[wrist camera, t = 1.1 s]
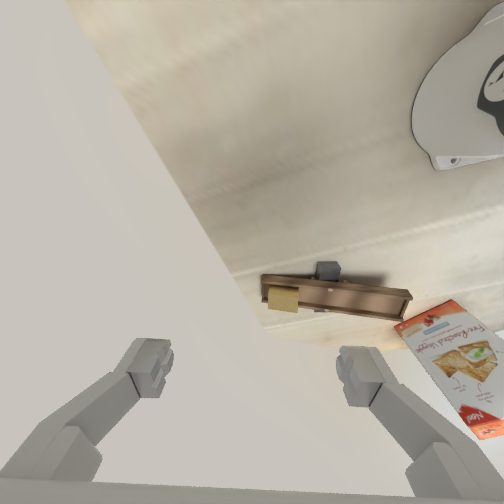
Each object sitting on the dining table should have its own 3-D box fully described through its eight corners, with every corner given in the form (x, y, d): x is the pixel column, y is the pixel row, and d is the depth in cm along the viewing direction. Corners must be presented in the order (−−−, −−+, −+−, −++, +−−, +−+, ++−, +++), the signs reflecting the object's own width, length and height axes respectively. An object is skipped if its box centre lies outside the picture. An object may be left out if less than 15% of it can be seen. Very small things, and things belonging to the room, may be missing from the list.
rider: (299, 285, 41) (298, 297, 38) (298, 299, 43) (297, 313, 40) (271, 282, 43) (268, 293, 39) (271, 296, 45) (268, 308, 41)
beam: (405, 286, 38) (413, 298, 35) (396, 309, 41) (403, 322, 38) (264, 271, 45) (260, 280, 42) (264, 292, 47) (261, 302, 44)
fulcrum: (336, 261, 42) (341, 267, 39) (328, 304, 47) (332, 312, 45) (317, 262, 42) (320, 268, 40) (312, 304, 47) (314, 312, 45)
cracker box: (451, 297, 45) (585, 401, 26) (460, 312, 47) (590, 418, 28) (391, 325, 50) (470, 430, 31) (402, 338, 52) (481, 443, 33)
